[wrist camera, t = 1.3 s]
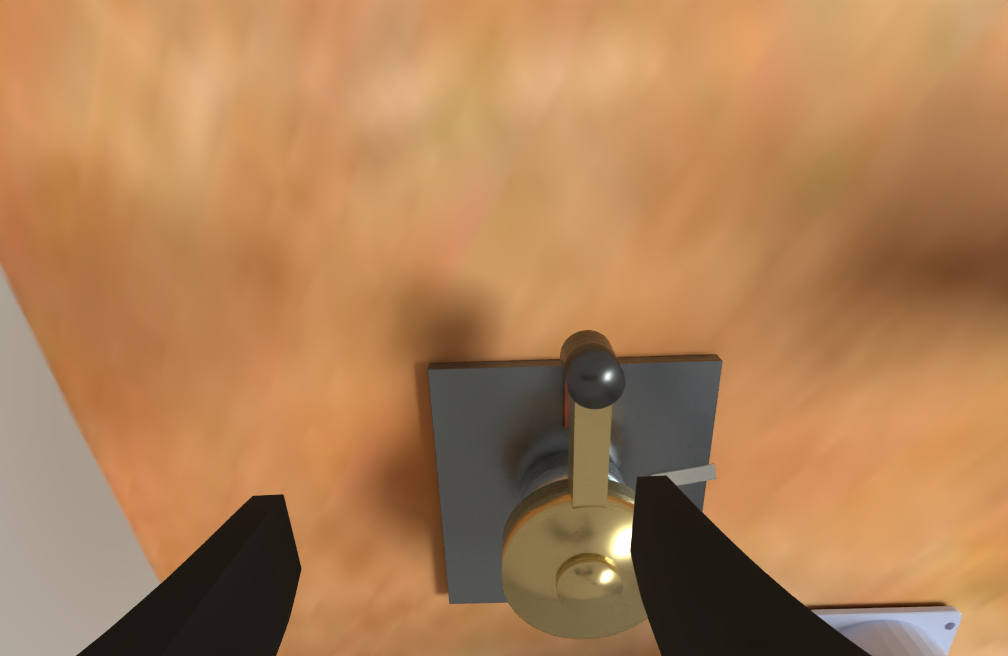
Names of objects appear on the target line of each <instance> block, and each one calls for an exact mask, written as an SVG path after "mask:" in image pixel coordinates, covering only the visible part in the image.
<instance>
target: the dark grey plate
mask: <svg viewBox="0 0 1008 656" xmlns="http://www.w3.org/2000/svg"><path fill="white" fill-rule="evenodd" d="M617 360H618V362H619V364H620V366H621V368H622V370H623V372H624V375H625V381H626V383H625V389H624V391H623V393H622V395H621V397H620V398H619V399H618V400H617V401H616V402H615V403H613V404H612V414H611V434H610V454H609V473H608V480H612V481H616V482H618V483H621V484H624V485H626V486H628V487H629V488H631V489H633V490H635V491H636V482H637V477H643V476H663V475H666V476H668V477H669V478H670V479H671V480H672V481H673V482H674V483H675V484H676V485H677V486H678V488H679V489H680V490H681V491H682V492H683V493H684V494H685V495H686V496H687V497H688V498H689V499H690V500H691V501H692V502H693V503H694V504H695V505H696V506H697V507H698V508H699V509H700V510H701V511H702V510H703V503H704V495H705V488H706V481H707V480H713V479H716V474H715V464H714V463H711V464H709V458H710V450H711V443H712V435H713V428H714V420H715V413H716V405H717V398H718V390H719V383H720V375H721V368H722V360H721V359H720V358H719V357H718V355H693V356H660V357H626V358H617ZM428 375H429V386H430V397H431V408H432V419H433V430H434V441H435V451H436V462H437V473H438V484H439V495H440V506H441V517H442V527H443V538H444V549H445V560H446V571H447V582H448V593H449V603H450V604H466V603H503V602H508V601H507V599H506V597H505V594H504V591H503V585H502V534H503V530H504V526H505V524H506V521H507V519H508V517H509V516H510V514H511V512H512V511H513V510H514V508H515V507H516V506H517V505H518V504H519V503H520V502H521V501H522V500H523V499H524V498H525V497H527V496H528V495H529V494H531V493H532V492H534V491H535V490H537V489H539V488H541V487H543V486H545V485H547V484H550V483H552V482H556V481H559V480H563V479H568V421H569V392H568V388H567V384H566V380H565V375H564V371H563V367H562V363H561V359H559V360H526V361H492V362H459V363H430V364H429V368H428Z"/></svg>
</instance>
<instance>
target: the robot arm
mask: <svg viewBox="0 0 1008 656" xmlns="http://www.w3.org/2000/svg"><path fill="white" fill-rule="evenodd" d="M630 554H631V558H632V563H633V567H634V571H635V575H636V580H637V584H638V588H639V592H640V596H641V600H642V602H643V605H644V608H645V611H646V614H647V617H648V619H649V622H650V625H651V628H652V630H653V633H654V636H655V639H656V642H657V644H658V647H659V650H660V652H661V655H662V656H947V654H948V652H949V649H950V646H951V644H952V641H953V639H954V636H955V634H956V631H957V629H958V626H959V624H960V621H961V618H962V615H961V613H960V612H959V611H958V610H957V609H956V608H955V607H953V606H931V607H894V608H857V609H821V610H809V609H808V608H807V607H806V606H804V605H803V604H802V603H801V602H799V601H798V600H797V599H796V598H795V597H793V596H792V595H791V594H790V593H788V592H787V591H786V590H785V589H784V588H783V587H781V586H780V585H779V584H778V583H777V582H776V581H775V580H773V579H772V578H771V577H770V576H769V575H768V574H766V573H765V572H764V571H763V570H762V569H761V568H760V567H759V566H758V565H756V564H755V563H754V562H753V561H752V560H751V559H750V558H749V557H748V556H747V555H746V554H745V553H744V552H743V551H741V550H740V549H739V548H738V547H737V546H736V545H735V544H734V543H733V542H732V541H731V540H730V539H729V538H728V537H727V536H726V535H725V534H724V533H723V532H722V531H721V530H720V529H719V528H718V527H717V526H716V525H715V524H714V523H713V522H712V521H711V520H710V519H709V518H708V517H707V516H706V515H705V514H704V513H703V512H702V511H701V510H700V509H699V508H698V507H697V506H696V505H695V504H694V503H693V502H692V501H691V500H690V499H689V498H688V497H687V496H686V495H685V494H684V493H683V492H682V491H681V490H680V489H679V488H678V486H677V485H676V484H675V483H674V482H673V481H672V480H671V479H670V478H669V477H668V476H666V475H663V476H643V477H637V482H636V492H635V502H634V513H633V523H632V533H631V543H630ZM300 573H301V565H300V561H299V556H298V552H297V548H296V544H295V540H294V536H293V532H292V528H291V523H290V519H289V515H288V511H287V507H286V503H285V499H284V495H283V494H282V495H262V496H252V497H251V498H250V499H249V500H248V501H247V502H246V503H245V504H244V505H243V506H242V507H241V508H240V509H239V510H238V511H236V512H235V513H234V514H233V515H232V516H231V517H230V518H229V519H228V520H227V521H226V522H225V523H224V524H223V525H222V526H221V527H220V528H219V529H218V530H217V531H216V532H215V533H214V534H213V535H212V536H211V537H210V538H209V539H208V540H207V541H206V542H205V543H204V544H203V545H202V546H201V547H199V548H198V549H197V550H196V551H195V552H194V553H193V554H192V555H191V556H190V557H189V558H188V559H187V560H186V561H185V562H184V563H183V564H182V565H181V566H179V567H178V568H177V569H176V570H175V571H174V572H173V573H172V574H171V575H170V576H169V577H168V578H167V579H166V580H165V581H163V582H162V583H161V584H160V585H159V586H158V587H157V588H155V589H154V590H153V591H152V592H151V593H150V594H149V595H147V597H145V598H144V599H143V600H142V601H141V602H140V603H139V604H137V605H136V606H135V607H134V608H133V609H132V610H130V611H129V612H128V613H127V614H126V615H125V616H124V617H123V618H121V619H120V620H119V621H118V622H117V623H116V624H115V625H113V626H112V627H111V628H110V629H109V630H107V631H106V632H105V633H104V634H103V635H101V636H100V637H99V638H98V639H97V640H95V641H94V642H93V643H92V644H90V645H89V646H88V647H87V648H85V649H84V650H83V651H82V652H80V653H79V654H78V655H76V656H276V655H277V652H278V649H279V647H280V644H281V641H282V638H283V636H284V633H285V630H286V627H287V625H288V622H289V618H290V614H291V611H292V607H293V603H294V599H295V595H296V590H297V586H298V582H299V577H300Z"/></svg>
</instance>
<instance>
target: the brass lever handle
mask: <svg viewBox="0 0 1008 656" xmlns="http://www.w3.org/2000/svg"><path fill="white" fill-rule="evenodd" d="M560 358H561V363H562V367H563V371H564V375H565V380H566V384H567V388H568V392H569V421H568V479H563V480H559V481H556V482H552V483H550V484H547V485H545V486H543V487H541V488H539V489H537V490H535V491H534V492H532V493H531V494H529V495H528V496H527V497H525V498H524V499H523V500H522V501H521V502H520V503H519V504H518V505H517V506H516V507H515V508H514V510H513V511H512V512H511V514H510V516H509V517H508V519H507V521H506V524H505V526H504V530H503V534H502V585H503V591H504V594H505V597H506V599H507V601H508V603H509V605H510V606H511V607H512V609H513V610H514V611H515V613H516V614H517V615H518V616H519V617H520V618H522V619H523V620H524V621H525V622H527V623H528V624H530V625H531V626H533V627H535V628H536V629H539V630H541V631H543V632H545V633H549V634H552V635H555V636H559V637H564V638H572V639H592V638H600V637H606V636H610V635H614V634H617V633H620V632H623V631H626V630H628V629H630V628H632V627H634V626H636V625H638V624H639V623H641V622H642V621H644V620H645V619H647V618H648V617H647V614H646V611H645V608H644V605H643V602H642V600H641V596H640V592H639V588H638V584H637V580H636V575H635V571H634V567H633V563H632V558H631V554H630V543H631V533H632V523H633V513H634V502H635V492H636V491H635V490H633V489H631V488H629V487H628V486H626V485H624V484H621V483H618V482H616V481H612V480H608V473H609V454H610V434H611V414H612V404H613V403H615V402H616V401H617V400H618V399H619V398H620V397H621V395H622V393H623V391H624V389H625V383H626V381H625V375H624V372H623V370H622V368H621V366H620V364H619V362H618V360H617V357H616V355H615V353H614V351H613V349H612V347H611V344H610V342H609V341H608V339H607V338H606V337H605V336H604V335H602V334H601V333H598V332H596V331H591V330H585V331H579V332H577V333H575V334H573V335H571V336H570V337H569V338H568V339H567V340H566V341H565V342H564V344H563V346H562V348H561V352H560Z"/></svg>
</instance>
